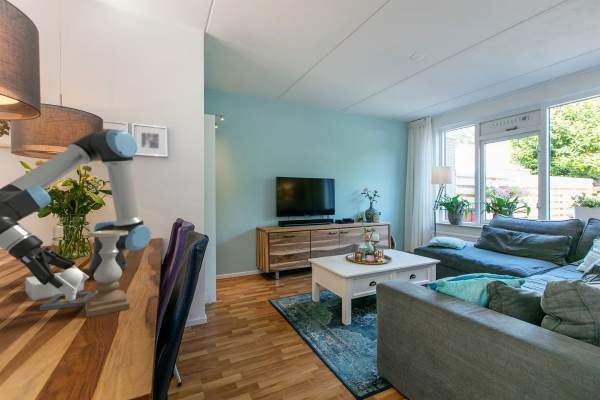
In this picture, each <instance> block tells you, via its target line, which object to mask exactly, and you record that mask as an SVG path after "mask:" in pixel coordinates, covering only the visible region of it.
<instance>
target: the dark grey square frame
mask: <svg viewBox="0 0 600 400" xmlns="http://www.w3.org/2000/svg"><path fill="white" fill-rule="evenodd" d="M97 292H98V291H97V290H89V291H88V290H87V291H79V292H77V293H76V299H77V298H78V299H79V298H81V299H80V300H73V301H71V302H68V301H63V302H59V301H60V300H66V299H65V294H56V295H54V296H53V297H49V299H47V301H45V302H44V303H43V304H41V305H39V311H49V310H58V309H59V310H60V309H66V308H67V309H68V308H76V307H78V308H79V307H85V301H86V300H88V297H89V296H91V295H94V294H96V293H97Z"/></svg>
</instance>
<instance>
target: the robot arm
mask: <svg viewBox="0 0 600 400" xmlns="http://www.w3.org/2000/svg"><path fill="white" fill-rule="evenodd" d="M66 148H67V149H66V150H64V151H62V152H61V153H59V154H57V155H55V156H54V157H51V158H50V159H49V160H47V161H44V162H43V163H42V164H40V165H38V166H37V167H35V168H33V169H32V170H29V171H28V172H26V173H25V174H23V175H21V176H19V177H18V178H17V179H15V180H13V181H12V182H9V183H8V184H6V185H4V186H3V187H1V188H0V248H1V249H2V250H4V251H8V255H11V256H12V257H13V258H15V259H16V260H17V261H20V262H21V263H22V264H23V265H24V266H25V267H26V268H27V269H28V270H29V272H30V273H31V274H32V275H33V277H34V276H35V277H36V278H37V279H38V281H39V282H40V283H42V284H43V285H46V284H47V283H48V282H49V284H51V285H52V286H53V287H55V288H56V289H58V290H59V291H60V292H62V293H63V294H65V295H66V296H68V295H69V294H70V293H72V292H73V291H74V290H75V289H76V288H74V287H73V286H72V285H70V284H69V283H68V282H66V281H65V280H63V279H62V278H61V277H59V276H58V275H57V276H56V277H55V275H54V272H53V270H52V268H51V267H50V265H52V266H54V267H57V268H60V269H62V270H63V271H65V270H67V269H70V268H76V269H79V268H78V267H77V266H75V265H76V262H75V261H73V260H71V259H69V258H68V257H65V256H64V255H61V254H60V253H58V252H56V251H54V250H52V248H51V247H50V248H49V247H45V248H42V247H41V246H42V245H43V244H44V242H43V240H42V239H40V238H39V237H38V236H36V235H35V234H34V235H33V234H32V232H31V231H30V230H29V229H27V228H26V227H25V226H23V225H22V224H21V223H19V222H20V221H21V220H22V219H25V218H27V217H29V216H30V215H33V214H35V213H37V212H38V211H40V210H43V209H44V208H45V207H46V206H48V205H50V204H51V202H52V198H51V196H50V194H49V193H48V192H47V190H45V189H47V188H49V187H50V186H51V185H53V184H54V183H56V182H57V181H59V180H60V179H62V178H63V177H65V176H67V175H68V174H69V173H71V172H72V171H74V170H76V169H77V168H78V167H80V166H81V165H83V164H84V165H88V164H90V163H91V162H93V161H96V160H98V159H99V160H100V159H101V163H102V164H103V165H105V166H106V167H107V168H106V169H107V174H108V179H109V180H108V181H109V185H110V191H111V195H112V202H113V206H114V213H115V217H116V219H115V220H112V221H111V220H110V221H103V222H97V223H95V225H94V229H93V232H94V231H105V230H125V231H128V234H127V235H124V236H120V237H119V240H118V241H117V242H116V248H117V250H118V251H119V252H118V253H117V255H116V257H115V260H116V262H117V264H118V265H119V266H120V268H121V270H122V271H123V270H127V269H128V262H127V259H126V256H125V253H124V251H125V250H128V251H139V250H142V249H144V248H145V247H147V245H148V243H149V242H150V241H151V237H152V231H151V229H150V227H148V226H147V225H146V224H144V219H143V218H142V217H140V215H139V211H138V203H137V198H136V192H135V186H134V182H133V175H132V170H131V164H133V162H134V156H135V154H136V153H137V152H138V145H137V141H136V139H135V138H134V136H132V135H131V134H130V133H129V132H128V131H125V130H121V129H110V130H109V129H108V130H102V131H101V130H100V131H98V130H97V131H93V132H90V133H88V134H85V135H83V136H82V137H80V138H78V139H77V140H75V141H73V142H72V143H70V144H68V145H67V147H66ZM101 249H102V243H101V242H100V241H99V238H98V237H93V255H92V259H91V260H90V263H89V266H88V273H92V274H94V273H95V271H96V270H97V268H98V267H99V265H100V264H101V262H102V257H101V255H100V254H99V251H100V250H101ZM79 270H80V271H81V272H82V273H83V279H82V281H81V282H80V283H83V282H84V283H85V281H87V280H88V279H89V278H90V276H89V275H87V274H86V273H85V272H83V270H81V269H79Z"/></svg>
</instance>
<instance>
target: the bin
mask: <svg viewBox="0 0 600 400" xmlns="http://www.w3.org/2000/svg"><path fill="white" fill-rule="evenodd" d="M62 272H63V271H62ZM62 272H56V273H54V272H53V273H54V275H55V277H56V276H57V275H58V276H60V274H61V273H62ZM84 283H85V281H84V282H83V283H80V284H79V286H78V288H77V292H84V288H85V287H84V285H85V284H84ZM25 293H26V294H27V296H28V297H29V299H31V302H32V301H38V300H42V299H46V298H52V297H53V296H54V295H56V294H63V293H62V292H60V291H59V290H58V289H56V288H55V287H53V286H52V285H51V284H49V282H48V283H47V284H46V285H43V284H42V283H40V282H39V281H38V279H37V278H36V277H35V276H34V275H33V276H28V277H25Z"/></svg>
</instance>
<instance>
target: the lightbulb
mask: <svg viewBox="0 0 600 400" xmlns="http://www.w3.org/2000/svg"><path fill="white" fill-rule="evenodd" d="M80 270H81V269H79V268H78V269H76V268H70V269H67V270H63V271H62V273H61V272H60V273H61V274H60V276H59V277H61V278H62V279H63V280H65V281H66V282H68V283H69V284H70V285H72V286H73V287H74V288H76V289H75V290H74V291H73V292H72V293H70V294H69V295H68V296H66V295H65V299H64V300H65V302H71V301H76V299H77V298H76V293H77V288H78V286H79V284H80V282H81V281H82V279H83V273H84V272H83V271H82V270H81V271H82V272H83V273H82V272H81V271H80Z"/></svg>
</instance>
